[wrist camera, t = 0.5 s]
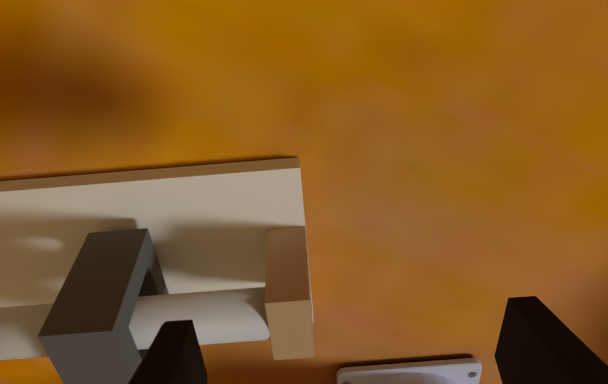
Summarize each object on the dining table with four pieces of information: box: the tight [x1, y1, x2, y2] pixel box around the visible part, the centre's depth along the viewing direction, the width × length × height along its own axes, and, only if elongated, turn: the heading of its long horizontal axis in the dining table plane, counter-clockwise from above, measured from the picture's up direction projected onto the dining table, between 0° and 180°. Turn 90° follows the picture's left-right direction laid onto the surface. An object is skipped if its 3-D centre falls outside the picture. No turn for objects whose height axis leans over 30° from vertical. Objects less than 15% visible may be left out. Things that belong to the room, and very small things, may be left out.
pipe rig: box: [0, 157, 315, 360], centre depth 21 cm, size 22×9×5 cm, turn 94°
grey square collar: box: [37, 228, 169, 384], centre depth 20 cm, size 2×5×5 cm, turn 4°
